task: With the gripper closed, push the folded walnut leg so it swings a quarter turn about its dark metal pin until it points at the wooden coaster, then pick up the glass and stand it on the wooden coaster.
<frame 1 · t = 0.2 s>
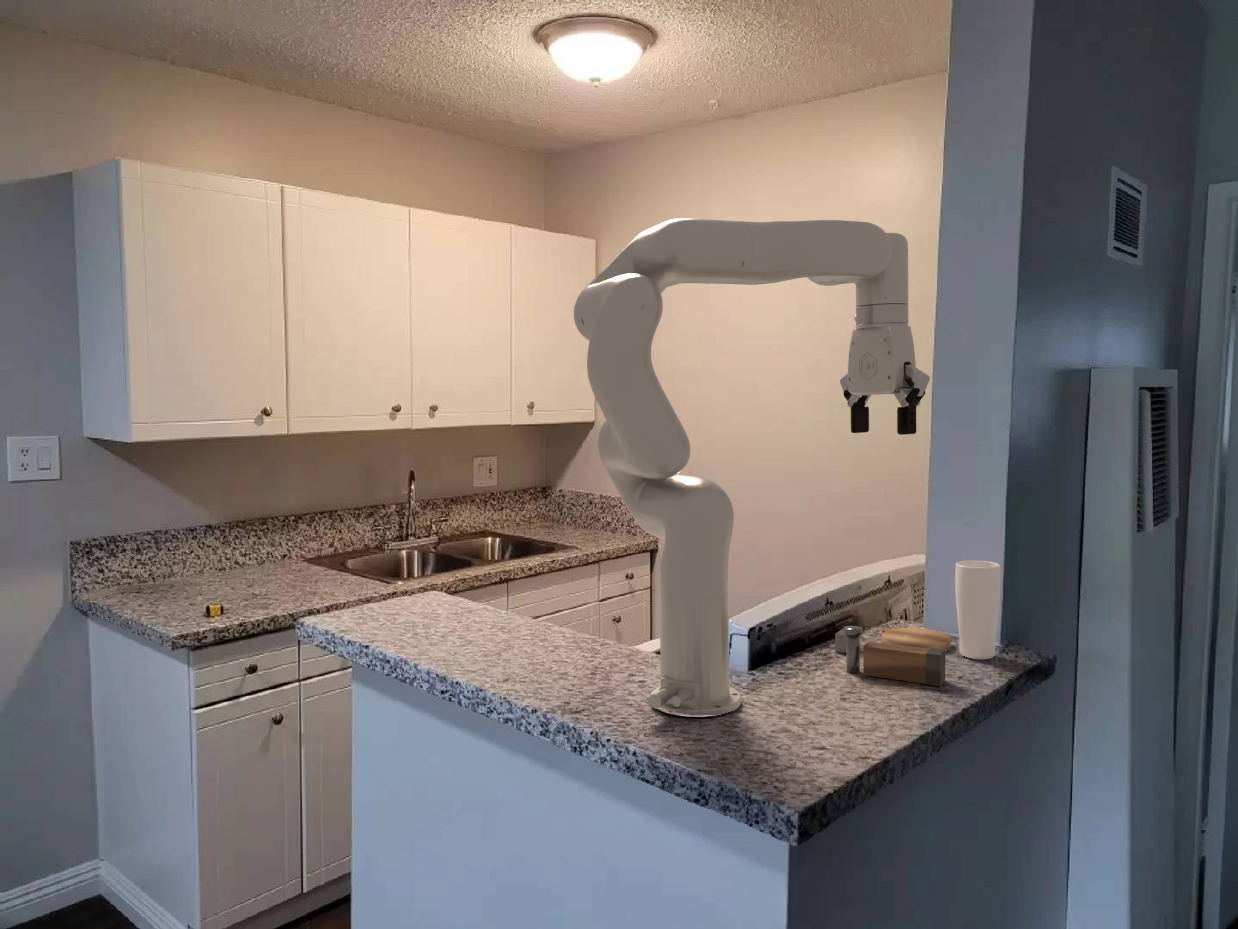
hand: (882, 433, 135), 36 cm above the counter, tool pointing down, fingers open, 9 cm apart
stop block: (846, 649, 149), on the counter
pivot pin: (853, 671, 137), on the counter
drinking glass: (976, 657, 144), on the counter
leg: (903, 662, 133), point 2 cm above the counter, hinge at 0.0°
wooden coaster: (916, 645, 151), on the counter
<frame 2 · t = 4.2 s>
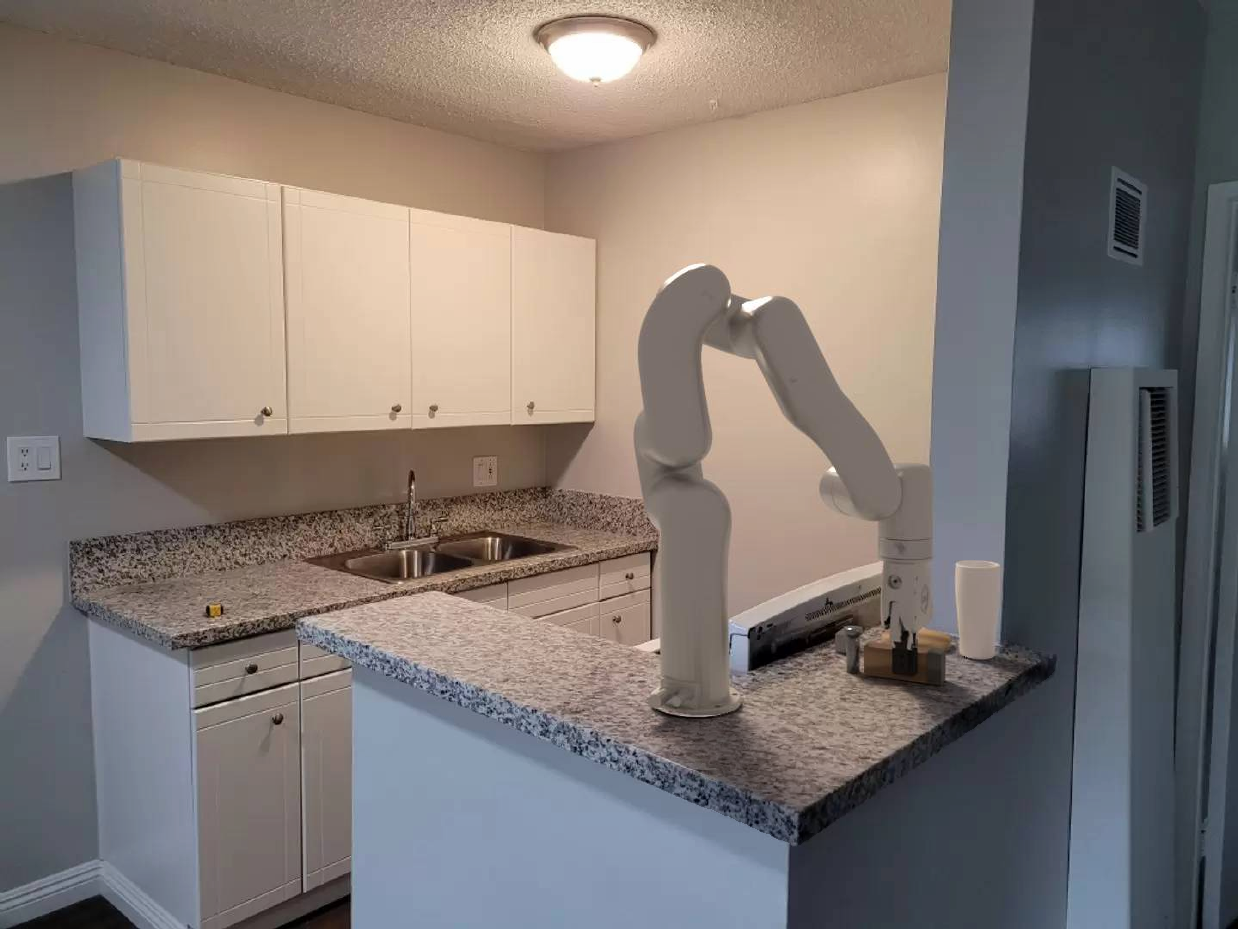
hand: (904, 674, 130), 2 cm above the counter, tool pointing down, fingers closed
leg: (904, 661, 133), point 3 cm above the counter, hinge at 2.0°, touching gripper
everything else where it was.
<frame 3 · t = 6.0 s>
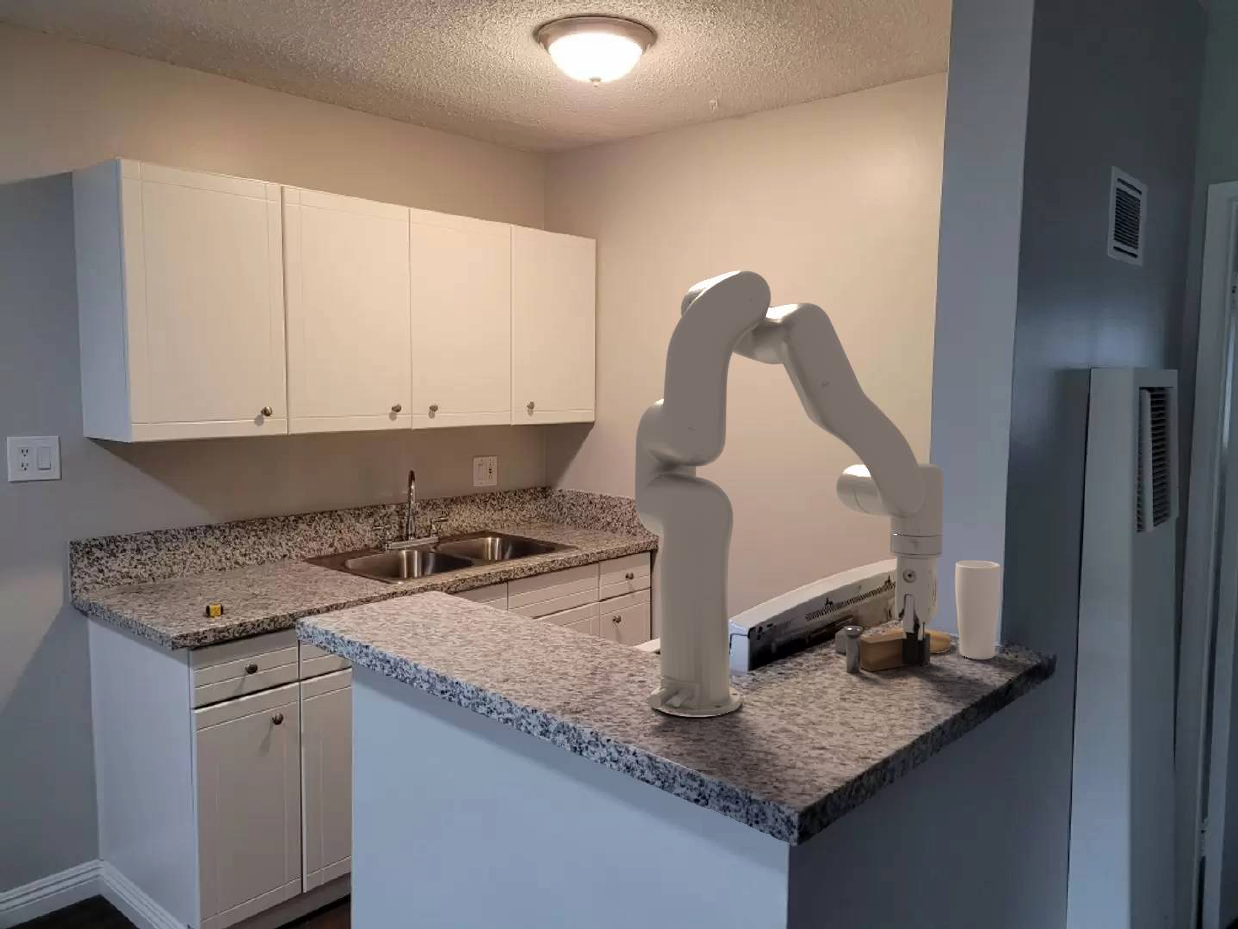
hand: (913, 663, 136), 1 cm above the counter, tool pointing down, fingers closed
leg: (893, 649, 140), point 3 cm above the counter, hinge at 52.8°, touching gripper
everything else where it was.
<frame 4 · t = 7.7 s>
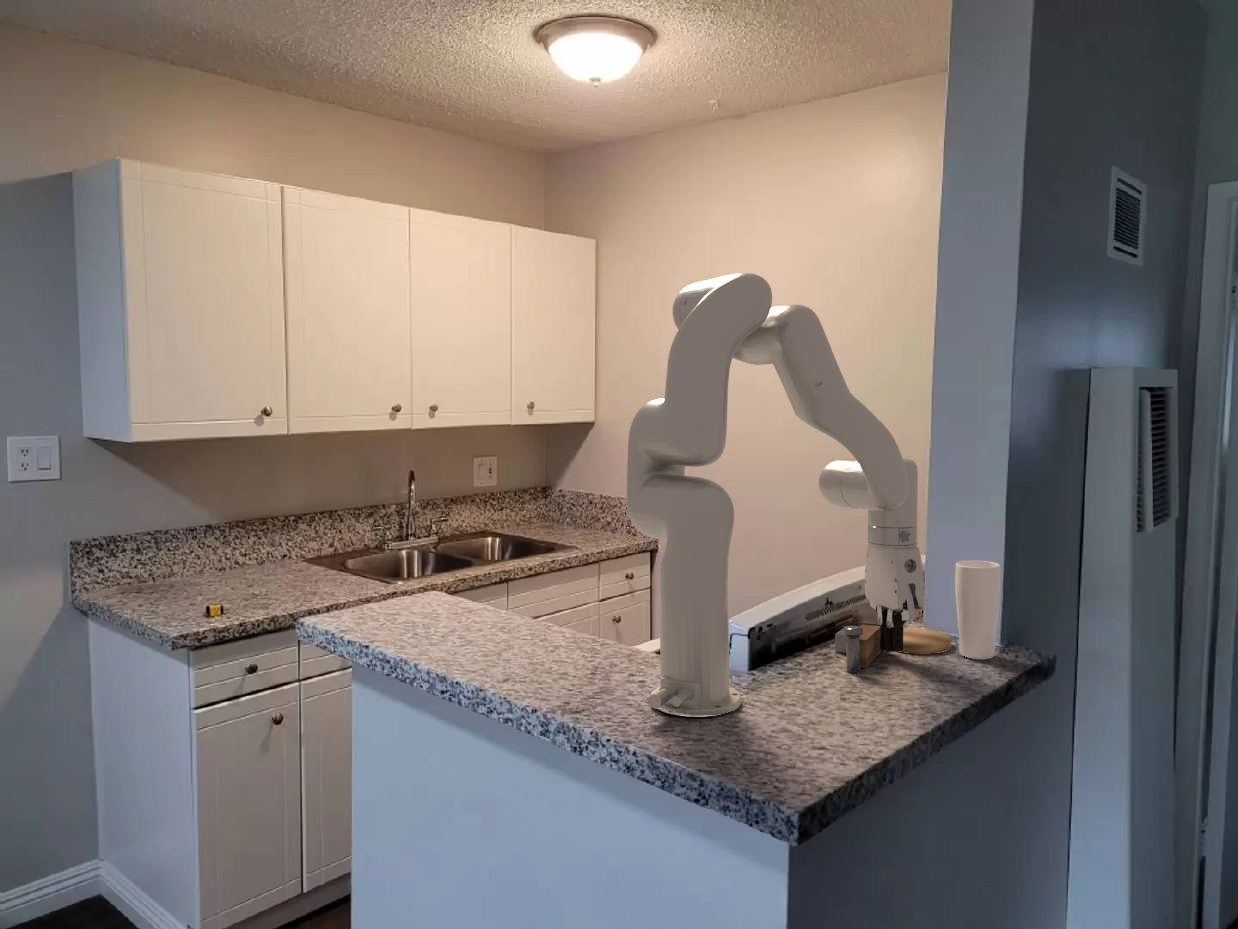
hand: (891, 649, 143), 2 cm above the counter, tool pointing down, fingers closed
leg: (866, 643, 143), point 3 cm above the counter, hinge at 91.5°, touching gripper
everything else where it was.
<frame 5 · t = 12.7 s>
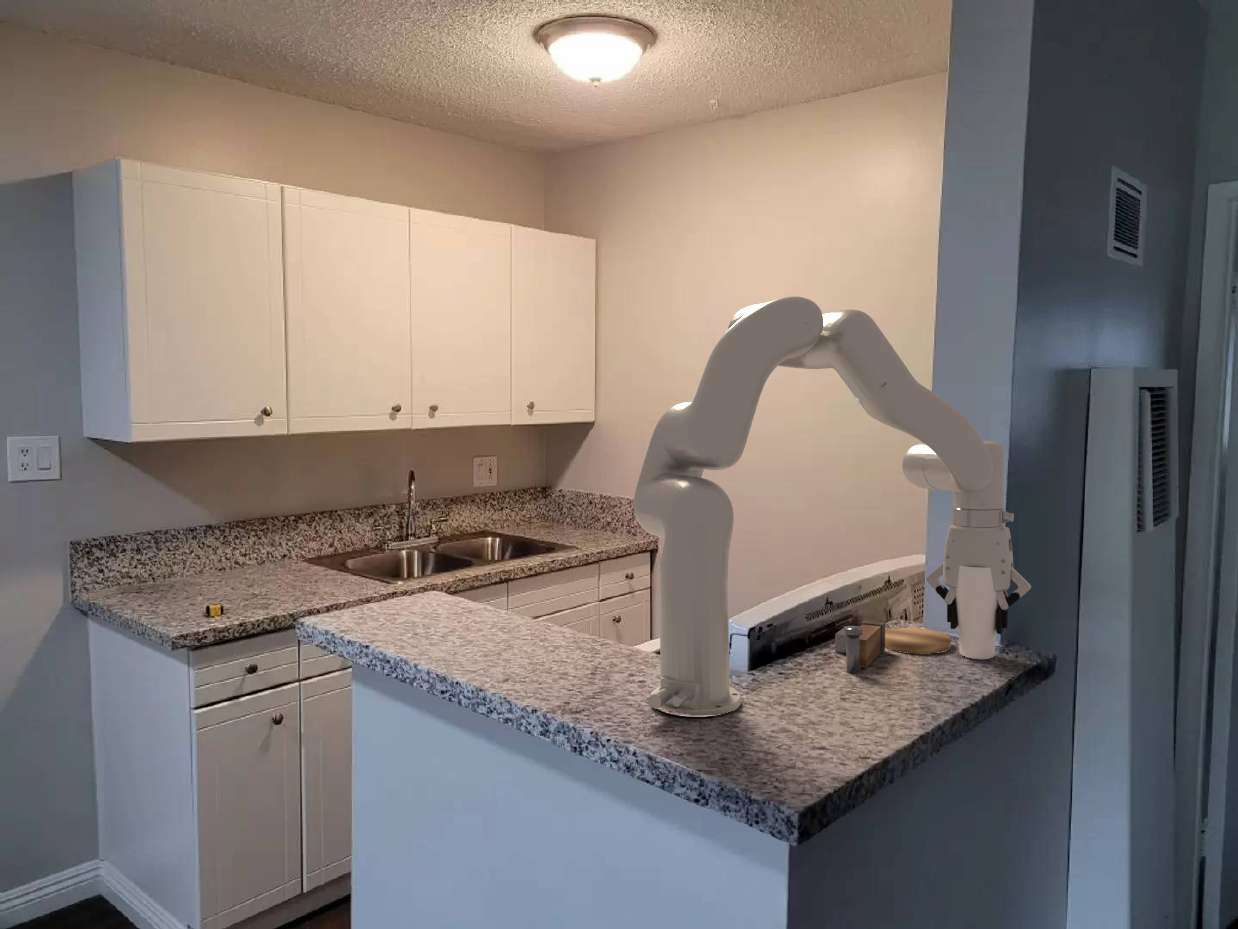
hand: (977, 628, 143), 4 cm above the counter, tool pointing down, fingers closed on drinking glass, 6 cm apart
drinking glass: (976, 657, 144), on the counter, touching gripper
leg: (866, 643, 143), point 3 cm above the counter, hinge at 91.6°
when the fingers open (8 cm above the counter, at t = 17.7 s): drinking glass drops 2 cm, resting on wooden coaster.
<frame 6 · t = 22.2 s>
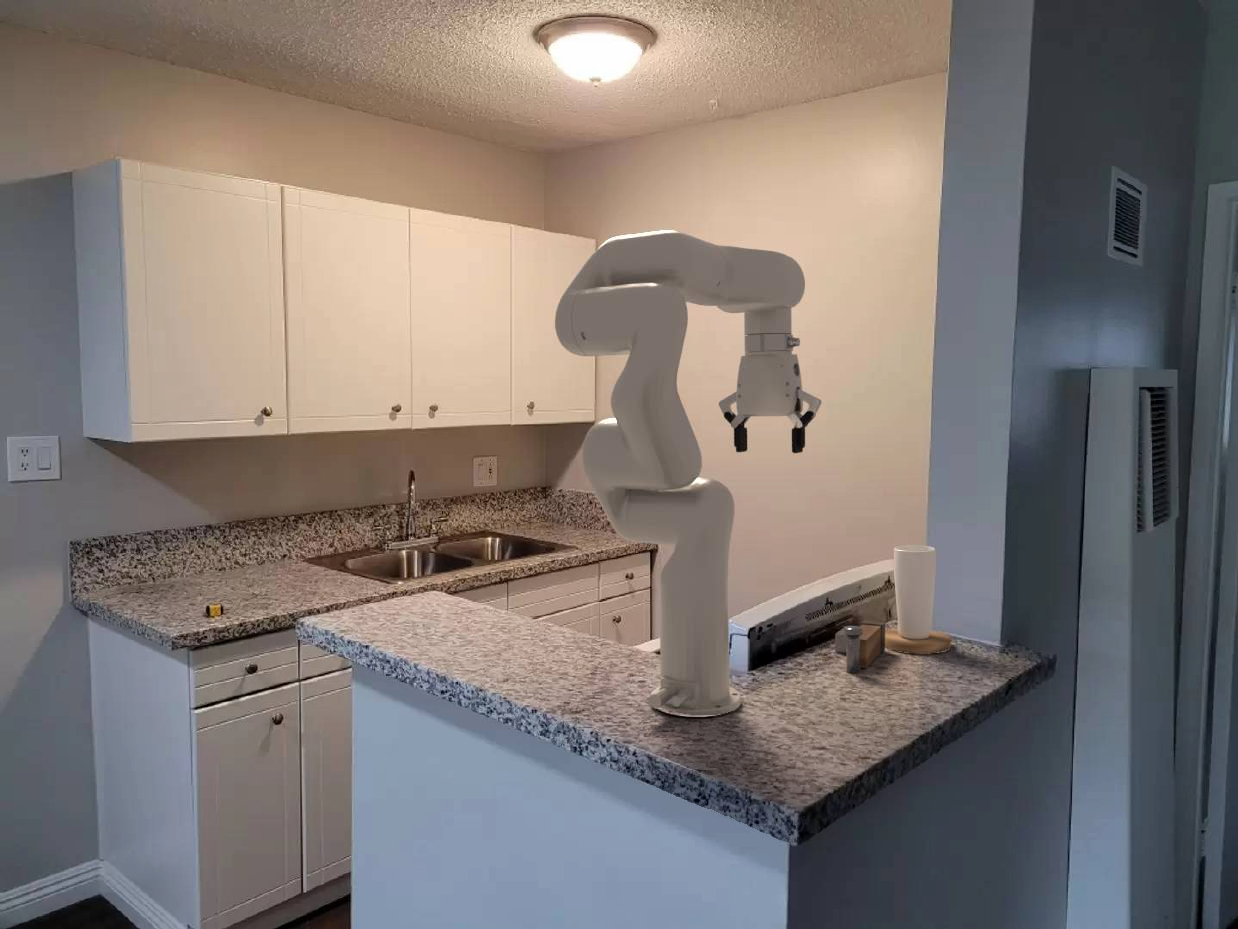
hand: (769, 452, 146), 33 cm above the counter, tool pointing down, fingers open, 9 cm apart
drinking glass: (914, 637, 150), point 1 cm above the counter, touching wooden coaster
everything else where it was.
at the end: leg at +92° (first picture: +0°); drinking glass inside the target area on the wooden coaster (0.2 cm from its centre), point 1.3 cm above the wooden coaster's base; drinking glass tilted 0° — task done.
